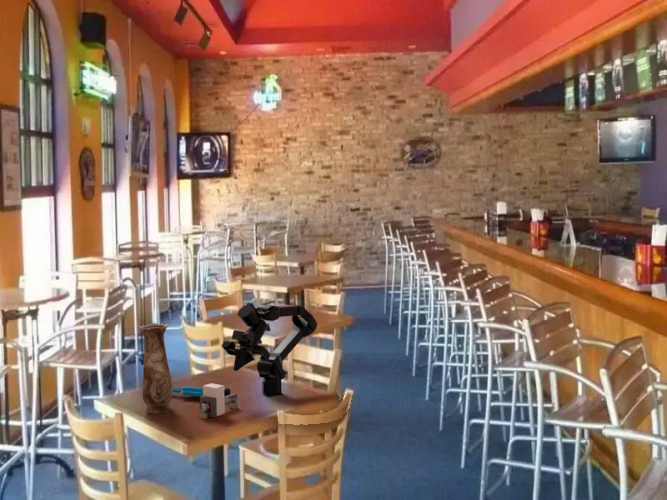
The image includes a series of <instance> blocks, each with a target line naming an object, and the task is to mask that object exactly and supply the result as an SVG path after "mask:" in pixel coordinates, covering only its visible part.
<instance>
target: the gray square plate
mask: <svg viewBox="0 0 667 500" xmlns="http://www.w3.org/2000/svg"><path fill="white" fill-rule="evenodd" d="M206 402H210V408H211V411H209V410H207V411H206V412H208V417H210V418H216V417H218V416H217V401H216V398H213V397H208V396H200V397H199V406H200V405H201V404H204V403H205V404H206Z"/></svg>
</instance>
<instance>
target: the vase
mask: <svg viewBox="0 0 667 500" xmlns="http://www.w3.org/2000/svg"><path fill="white" fill-rule="evenodd" d="M168 326H169V323H159V324H158V323H156V322H155V323H154V322H153V323H147V324H146V325H141V326H140V325H139V326H138V328H139V329H140V331H141V333H142V334H143V338H144V340H143V341H144V350H143V351H144V354H143V355H144V356H143V370H142V371H143V372H142V384H141V389H142V390H141V391H142V400H143V402H144V404H145V405H146V406H147V407H146V409H145V412H146V413H148V414H163V413H166V412H170V411H171V410H172V407H171V405H170V403H171V402H172V399H173V392H172V387H173V382H172V378H171V372H170V367H169V363H168V362H169V361H168V356H167V351H166V345H165V333H166V330H167V328H168Z"/></svg>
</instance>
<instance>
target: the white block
mask: <svg viewBox="0 0 667 500" xmlns="http://www.w3.org/2000/svg"><path fill="white" fill-rule="evenodd" d="M224 387H225V385H222V384H219V383H218V384H216V383H208V384H204V385H203V386H202V388H203V396H208V397H213V398H216V401H217V417H219V416H222V415H225V414H226V412H225V408H226V407H225V406H226V405H225V404H224ZM206 403H208V402H206ZM209 411H211V409H210V410H209Z"/></svg>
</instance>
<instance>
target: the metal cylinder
mask: <svg viewBox="0 0 667 500" xmlns="http://www.w3.org/2000/svg"><path fill="white" fill-rule="evenodd" d="M238 403H239V402H238V395H237V393H230V395H228V396H225V397H224V404H225V406H226V405H228V408H229V409H234V410H236V409H238V408H239V404H238ZM210 409H211V408H210V402H208V403H206V404H205V403H204V404H201V405H200V404H199V412H198V413H199V417H198V418H199V419H203V420H208V419H209V418H208V417H209V416H208V412H206V411H207V410H210Z"/></svg>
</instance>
